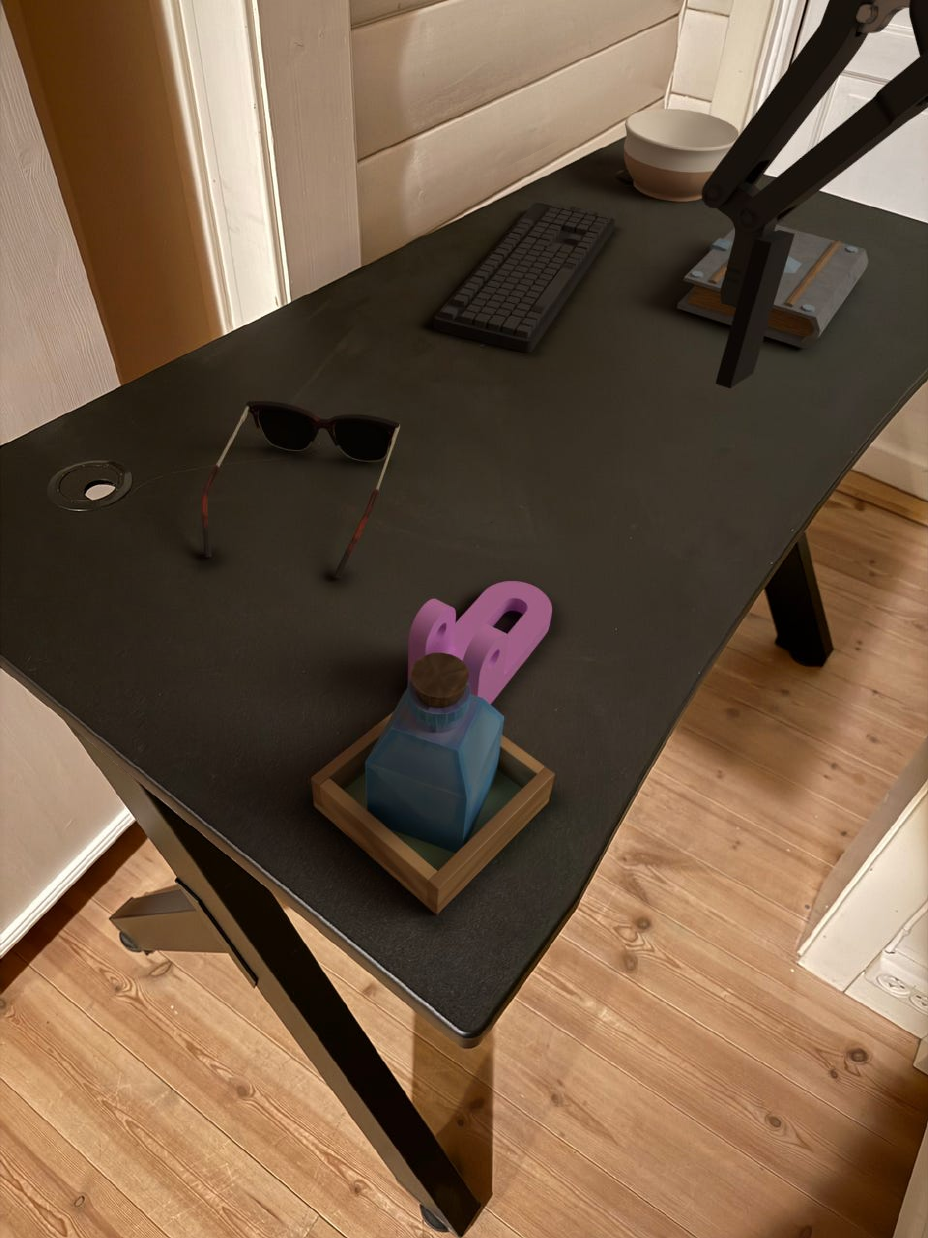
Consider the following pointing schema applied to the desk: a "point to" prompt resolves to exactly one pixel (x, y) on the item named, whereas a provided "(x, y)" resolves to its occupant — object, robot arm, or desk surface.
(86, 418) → the desk surface
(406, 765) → the blue bottle with cork
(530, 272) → the keyboard
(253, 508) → the desk surface
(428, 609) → the bracket
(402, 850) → the holder
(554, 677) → the desk surface
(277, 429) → the sunglasses
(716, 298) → the book
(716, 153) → the bowl
